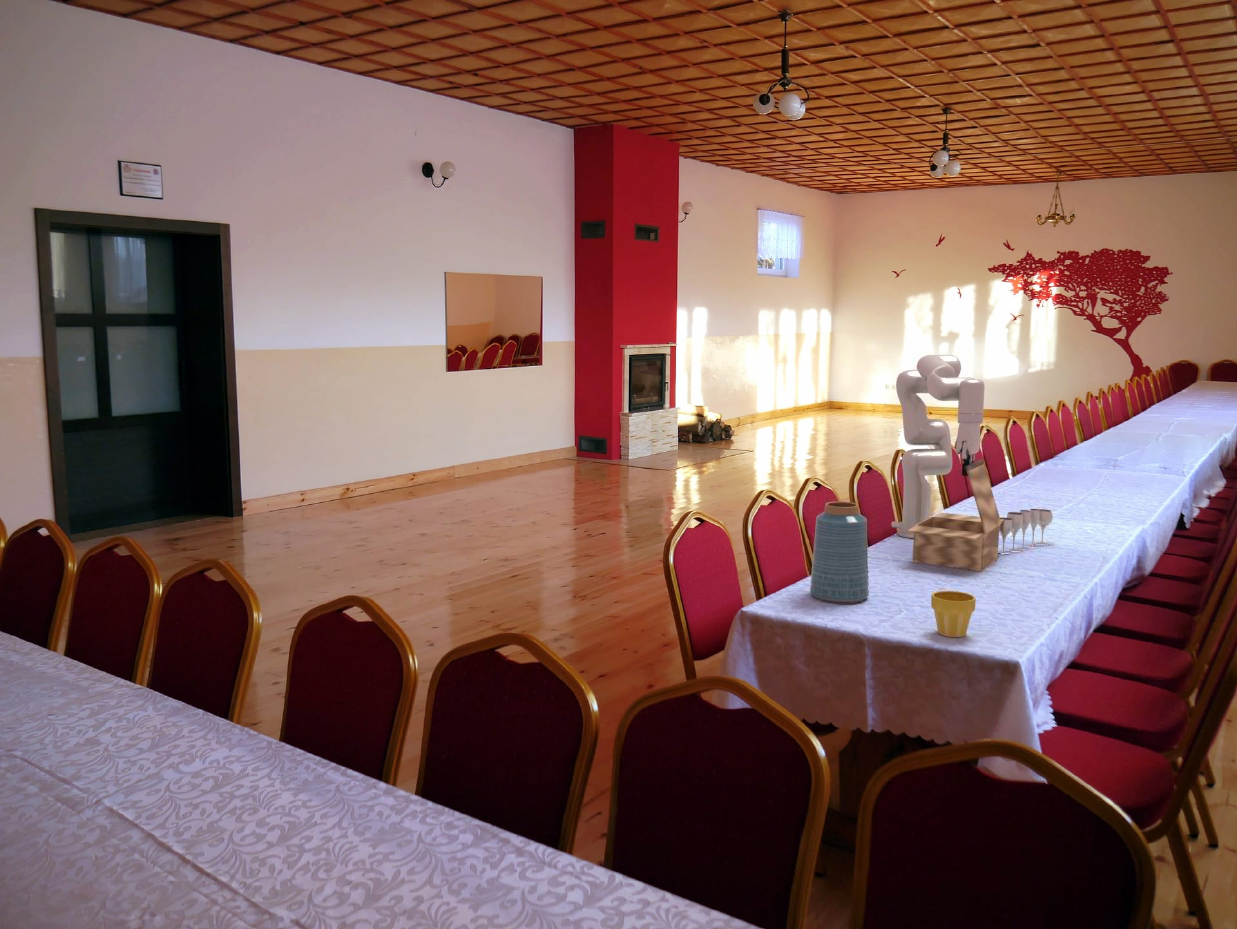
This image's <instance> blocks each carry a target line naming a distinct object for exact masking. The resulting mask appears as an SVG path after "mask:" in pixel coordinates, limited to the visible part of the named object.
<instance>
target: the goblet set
mask: <svg viewBox="0 0 1237 929" xmlns="http://www.w3.org/2000/svg"><path fill="white" fill-rule="evenodd" d="M1000 519H1004V521H1003V522H1002V523H1001V524H1000V526H999V535H1001V538H1002V551H998V553H1007V551H1005V543H1006V538H1007V536H1009V534H1010V533H1012V548H1011V549H1010V548H1009V549H1010V550H1009V551H1020V549H1028V548H1032V547H1037V546H1038V545H1036V544H1045V545H1047V544H1048V542H1047V543H1046V542H1044V532H1045V529H1046V528H1047V526H1049V525H1050V524H1052V522H1053V519H1054V518H1053V513H1052V510H1050V509H1045V508H1044V509H1043V508H1042V509H1040V508H1030V509H1029V510H1028V509H1020V510H1019V512H1018V511H1010V512H1007V515H1006V517H1001V516H1000ZM1029 525H1030V526H1031V531H1032V537H1031V538H1032V541H1031V544H1027V545H1026V547H1024V544H1025V535H1026V532H1027V529H1028V528H1029ZM1037 526H1039V527H1040V529H1041V541H1040V542H1035V543H1036V544H1034V538H1035V531H1036V528H1037ZM1020 529H1021V531H1022V546H1020V548H1019V549H1015V541H1016V540H1015V539H1016V535H1017V533H1018V532H1019V531H1020ZM1027 546H1030V547H1027ZM1047 546H1048V545H1047ZM1037 548H1038V547H1037ZM1014 549H1015V550H1014Z"/></svg>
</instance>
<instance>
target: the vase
mask: <svg viewBox="0 0 1237 929" xmlns="http://www.w3.org/2000/svg"><path fill="white" fill-rule="evenodd" d="M859 512H860V510H859V504H857V503H856V502H851V501H842V500H841V501H829V502H826V503H825V505H824V511H823V512H821V513H820V514H818V515H817V516H816V518H815V530H814V531H815V532H814V539H813V540H814V541H813V553H812V555H813V556H812V563H811V566H812V567H811V574H810V578H811V579H810V587H809V592H810V594H811V595H812V596H813V598H815V599H816V600H817V599H818V601H821V602H825V603H826V602H827V603H830V604H831V603H832V604H840V605H841V604H842V605H843V604H844V605H845V604H846V605H847V604H856V603H859V602H862V601H864V600H866V599H867V598H868V597H869V596H870V595H869V594H870V589H869V587H870V586H869V584H870V583H869V577H870V576H869V560H868V558H869V557H868V552H869V551H868V550H869V549H868V527H867V526H868V524H867V523H868V519H867V517H865V516H863V515H862V514H861V513H859Z"/></svg>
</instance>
